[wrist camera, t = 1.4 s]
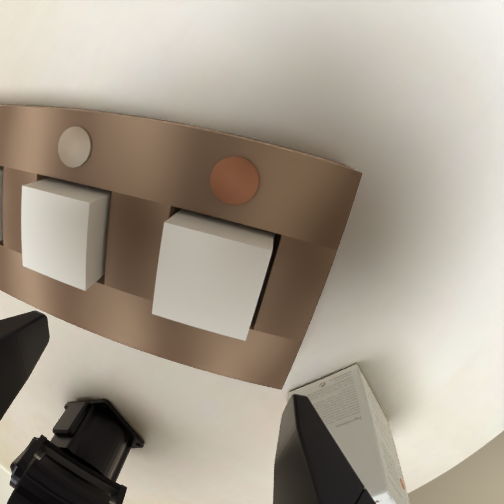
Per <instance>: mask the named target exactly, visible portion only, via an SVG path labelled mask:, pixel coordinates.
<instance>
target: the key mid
mask: <svg viewBox="0 0 504 504" xmlns="http://www.w3.org/2000/svg"><path fill="white" fill-rule="evenodd" d="M111 198H112V191H109V190H105V189H100V188H96V187H92V186H88V185H83V184H79V183H75V182H71V181H66V180H62V179H57V178H53V177H50V178H47V179H43V180H39V181H36V182H32V183H29V184H26V185H22V200H21V239H22V262H23V266H24V267H27V268H29V269H31V270H34V271H36V272H39V273H41V274H43V275H46V276H48V277H51V278H53V279H56V280H58V281H61V282H63V283H66V284H68V285H71V286H74V287H76V288H79V289H81V290H84V291H86V290H87V289H88V288H90V287H91V286H92V285H93V284H94V283H95V282H96V281H98V280H99V279H100V278H101V277H102V276H103V275H105V265H106V249H107V236H108V225H109V215H110V206H111Z"/></svg>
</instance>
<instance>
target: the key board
mask: <svg viewBox="0 0 504 504" xmlns="http://www.w3.org/2000/svg"><path fill="white" fill-rule="evenodd" d="M0 166H3V167H4V171H3V199H2V216H3V240H1V241H0V290H1V291H3V292H5V293H7V294H9V295H11V296H13V297H15V298H17V299H19V300H21V301H23V302H25V303H27V304H29V305H31V306H33V307H35V308H37V309H40V310H42V311H44V312H46V313H48V314H50V315H53V316H55V317H57V318H59V319H62V320H64V321H66V322H69V323H71V324H73V325H76V326H78V327H80V328H83V329H85V330H88V331H90V332H93V333H95V334H98V335H100V336H103V337H105V338H108V339H111V340H113V341H116V342H118V343H121V344H124V345H127V346H129V347H132V348H135V349H138V350H141V351H144V352H147V353H150V354H152V355H155V356H158V357H162V358H165V359H168V360H171V361H174V362H177V363H181V364H184V365H187V366H190V367H194V368H197V369H201V370H204V371H208V372H211V373H215V374H219V375H222V376H226V377H230V378H234V379H238V380H242V381H246V382H250V383H254V384H259V385H263V386H267V387H272V388H276V389H281V390H282V388H283V385H284V383H285V381H286V379H287V376H288V374H289V372H290V369H291V367H292V365H293V362H294V360H295V358H296V355H297V353H298V351H299V348H300V346H301V343H302V341H303V339H304V336H305V334H306V331H307V329H308V326H309V324H310V321H311V319H312V316H313V314H314V311H315V309H316V306H317V304H318V301H319V298H320V296H321V293H322V290H323V288H324V285H325V282H326V280H327V277H328V274H329V272H330V269H331V266H332V263H333V261H334V258H335V255H336V252H337V249H338V246H339V244H340V241H341V238H342V235H343V232H344V229H345V226H346V223H347V220H348V217H349V214H350V211H351V208H352V205H353V201H354V198H355V195H356V192H357V189H358V186H359V182H360V179H361V176H362V173H361V172H358V171H356V170H354V169H352V168H350V167H348V166H346V165H343V164H340V163H337V162H334V161H330V160H327V159H324V158H321V157H317V156H314V155H310V154H307V153H304V152H300V151H297V150H293V149H289V148H286V147H282V146H278V145H274V144H271V143H267V142H263V141H259V140H255V139H251V138H247V137H242V136H238V135H234V134H229V133H225V132H220V131H216V130H211V129H206V128H201V127H196V126H191V125H186V124H181V123H175V122H170V121H164V120H158V119H152V118H146V117H139V116H133V115H126V114H118V113H110V112H102V111H93V110H84V109H74V108H62V107H48V106H31V105H0ZM50 177H53V178H57V179H62V180H66V181H71V182H75V183H79V184H83V185H88V186H92V187H96V188H100V189H105V190H109V191H112V198H111V206H110V215H109V225H108V236H107V249H106V265H105V275H103V276H102V277H101V278H100V279H99V280H98V281H96V282H95V283H94V284H93V285H92V286H91V287H90V288H88V289H87V290H86V291H84V290H81V289H79V288H76V287H74V286H71V285H68V284H66V283H63V282H61V281H58V280H56V279H53V278H51V277H48V276H46V275H43V274H41V273H39V272H36V271H34V270H31V269H29V268H27V267H24V266H23V262H22V239H21V200H22V185H26V184H29V183H32V182H36V181H39V180H43V179H47V178H50ZM181 209H186V210H190V211H194V212H198V213H201V214H205V215H209V216H213V217H217V218H221V219H224V220H228V221H232V222H236V223H240V224H243V225H247V226H251V227H255V228H258V229H262V230H266V231H270V232H273V233H277V235H276V238H275V242H274V245H273V250H272V254H271V257H270V261H269V264H268V268H267V271H266V274H265V278H264V281H263V285H262V288H261V291H260V295H259V298H258V301H257V305H256V308H255V311H254V315H253V318H252V321H251V325H250V328H249V331H248V335H247V338H246V341H244V340H240V339H236V338H232V337H229V336H225V335H221V334H218V333H214V332H211V331H207V330H204V329H200V328H197V327H193V326H190V325H186V324H183V323H180V322H176V321H173V320H170V319H167V318H164V317H160V316H157V315H154V314H152V308H153V299H154V291H155V283H156V275H157V267H158V260H159V253H160V246H161V240H162V233H163V227H164V222H165V221H166V220H168V219H169V218H170V217H172V216H173V215H174V214H176V213H177V212H178V211H180V210H181Z"/></svg>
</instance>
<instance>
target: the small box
mask: <svg viewBox="0 0 504 504" xmlns="http://www.w3.org/2000/svg"><path fill="white" fill-rule="evenodd" d="M292 394H299V395H305V396H307V397H308V398H309V400H310V401H311V403H312V404H313V406H314V408H315V409H316V411H317V412H318V414H319V416H320V417H321V419H322V420H323V422H324V424H325V425H326V427H327V428H328V430H329V432H330V433H331V435H332V436H333V438H334V439H335V441H336V443H337V444H338V446H339V447H340V449H341V450H342V452H343V454H344V455H345V457H346V458H347V460H348V461H349V463H350V464H351V466H352V468H353V469H354V471H355V472H356V474H357V475H358V477H359V478H360V480H361V481H362V483H363V485H364V486H365V488H366V489H367V490H368V492H369V493H370V495H371V497H372V498H373V499H374V501H375V502H376V504H409V500H408V496H407V491H406V487H405V483H404V478H403V474H402V471H401V467H400V463H399V459H398V455H397V451H396V447H395V444H394V440H393V436H392V433H391V429H390V426H389V422H388V420H387V418H386V416H385V414H384V413H383V411H382V409H381V407H380V405H379V403H378V401H377V400H376V398H375V396H374V394H373V392H372V390H371V388H370V386H369V385H368V383H367V381H366V379H365V377H364V376H363V374H362V372H361V370H360V368H359V366H358V365H357V364H355V365H352V366H350V367H348V368H346V369H344V370H342V371H339V372H337V373H335V374H332V375H330V376H328V377H325V378H323V379H321V380H318V381H316V382H314V383H311V384H309V385H306V386H304V387H301V388H299V389H296V390H294V391H291V392H289V393H288V401H289V399H290V397H291V396H292ZM365 488H364V489H365Z"/></svg>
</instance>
